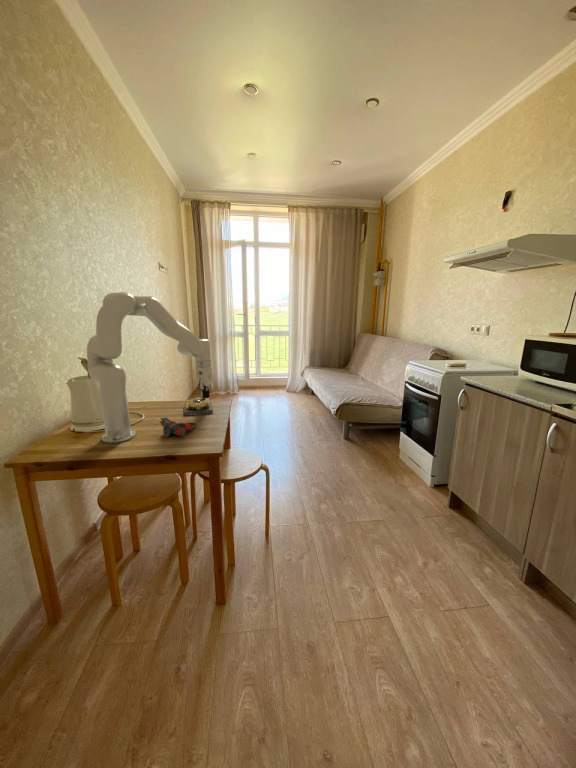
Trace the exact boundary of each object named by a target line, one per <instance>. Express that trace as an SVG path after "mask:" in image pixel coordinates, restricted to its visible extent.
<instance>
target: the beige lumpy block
mask: <svg viewBox="0 0 576 768" xmlns="http://www.w3.org/2000/svg"><path fill="white" fill-rule="evenodd" d="M200 395H201V396H200V397H195V398H191V399H187V400H186V401H185V403H186V408H187V409H197V410H199V409H202V408H206V407H209V406H210V401H211V400H210V398H203V395H202V391H200Z"/></svg>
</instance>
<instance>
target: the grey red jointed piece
mask: <svg viewBox="0 0 576 768" xmlns="http://www.w3.org/2000/svg"><path fill="white" fill-rule="evenodd" d="M160 420H161V421H162V422H163V429H162V430H163V435H164V437H165V438H169V437H170V435H171V434H173V435H177V436H184V435H185V434H186V433H188V432H190V431H193V429H194V428H196V427H197V424H196V422H195V423H194V422H178V423H177V422H176V421H173V420H171V419H170V418H168V417H166V416H165V417H160Z"/></svg>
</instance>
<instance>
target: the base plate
mask: <svg viewBox="0 0 576 768" xmlns="http://www.w3.org/2000/svg"><path fill="white" fill-rule="evenodd" d="M209 401H210V406H209V407H206V408H202V409H199V410H197V409H187V408H186V402H184V407H183V409H184V410H183V411H184V412H183V413H184V414H183V415H188V416H192V415H191V414H198V415H203V414H202V413H209V414H213V413H214V412H213V411H214V410H213V405H212V401H211V400H209Z"/></svg>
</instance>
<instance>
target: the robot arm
mask: <svg viewBox="0 0 576 768" xmlns="http://www.w3.org/2000/svg"><path fill="white" fill-rule="evenodd" d="M97 312H98V313H97V315H96V322H95V324H96V325H95V327H96V328H95V331H96V332H95V335H93V336H91V337H90V338H89V339H88V342H87V344H86V361H87V362H86V363H87V372H88V375H89V378H90V379H91V380H92V381H94V382H95V383H97V384H99V402H100V408H101V413H102V420H103V425H104V426H103V427H104V432H105V433H104V434H102V436H101V441H103V442H104V443H106V444H108V443H110V444H114V443H120V442H125V441H128V440H130V439H132V438H134V437H135V436H136V434H137V433H136V430H135V429H133V428H132V427H131V425H132V424H131V420H130V419H131V418H130V410H129V403H128V397H127V396H128V395H127V374H126V371H125V370H124V369H123V368H122V367H121V366H120V365H118V364H117V363H114V361H113V360H116V359H119V357H120V356H121V355H122V351H123V347H122V346H123V344H122V325H123V321H124V319H125V318H126V316H131V317H132V316H135V317H146V318H147V319H148V320H149V321H150V322H151V323H152V325H154V326H155V327H156V328H157V330H159V331H160V333H162V334H164V335H165V336H167V337H169V338H171V339H173V340H176V341H177V342H179V343H178V344H177V345H176V348H177V351H178V353H180V354H181V355H183V356H188V357H194V358H195V367H196V379H197V386H198V387H199V389H200V390H201V392H202V395H203V398H208V399H210V397H211V396H210V386H211V384H213V382H214V375H213V368H212V360H211V359H212V357H211V356H212V355H211V354H212V353H211V342H210V340H209V339H207V338H198V337H197V336H196V334H195V333H194V332H193V331H191V330H190V329H188V328H187V327H186V326H184V325H183V324H182V323H180V322H179V321H178V320H177V319H176V318H175V317H174V316H173V315H172V314H171V313H170V312H169V310H167V309H166V307H165V306H164V305H163V303H162V302H160V300H159V299H157V298H156V297H154V296H148V295H147V296H145V295H144V296H139V295H138V296H137V295H132V294H131V293H128V292H124V291H123V292H111V293H110V292H109V293H107V294H106V295H105V296H104V297H103V300H102V305H101V307H100V309H99V310H98V311H97Z"/></svg>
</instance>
